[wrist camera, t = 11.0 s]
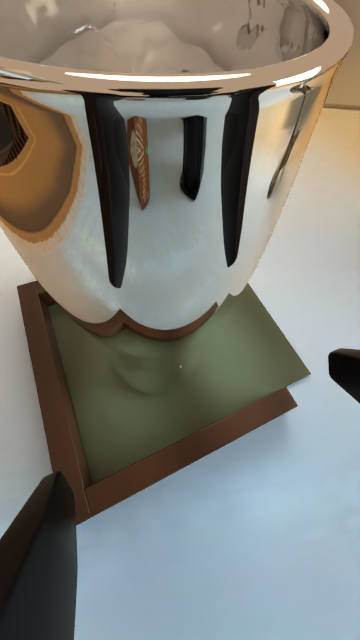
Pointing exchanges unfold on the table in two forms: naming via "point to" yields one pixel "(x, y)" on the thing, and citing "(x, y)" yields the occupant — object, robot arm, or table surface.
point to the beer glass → (156, 157)
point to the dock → (150, 399)
